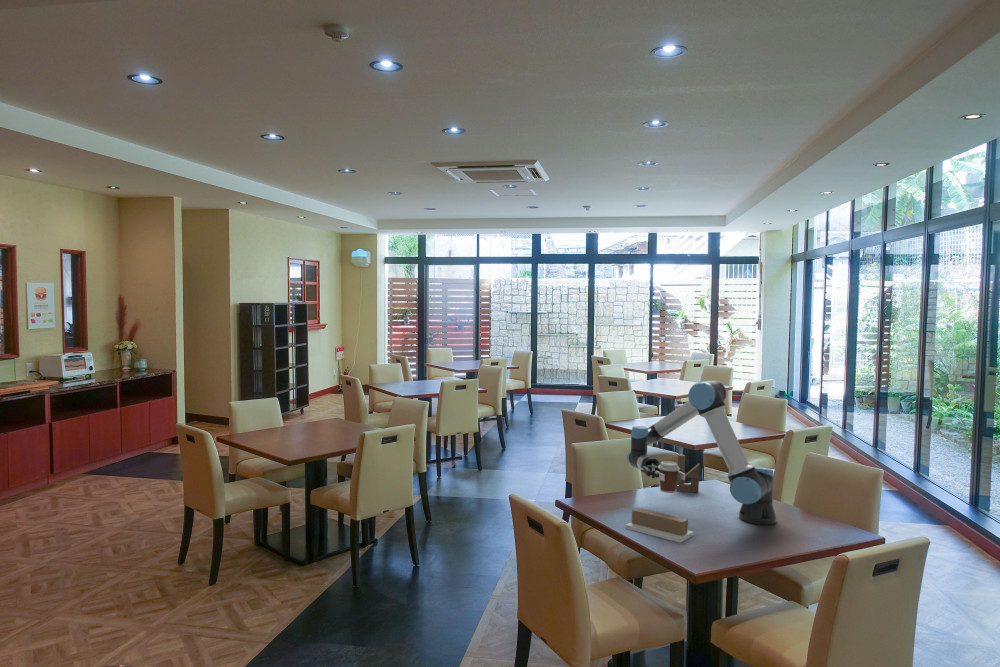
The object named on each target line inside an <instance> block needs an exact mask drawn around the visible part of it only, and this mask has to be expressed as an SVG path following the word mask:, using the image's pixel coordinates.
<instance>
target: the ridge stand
mask: <svg viewBox="0 0 1000 667" xmlns="http://www.w3.org/2000/svg"><path fill="white" fill-rule="evenodd" d="M631 512H632V513H631V522H627V523H626V524H625V526H624V527H625V528H624V529H627V530H630V531H634V532H638V533H643V534H645V535H650V536H652V537H656V538H661V539H665V540H668V541H671V542H677V543H679V544H680V543H682V542H685V541H686V540H688V539H689V538H691V537H693V536H694V531H692V530H689V529H688V527H689V524H688V523H689V519H688V518H683V517H680V516H675V515H672V514H666V513H662V512H659V511H658V512H657V511H654V510H651V509H646V508H641V507H636V508H633V509H632V510H631Z"/></svg>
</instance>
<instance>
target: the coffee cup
mask: <svg viewBox="0 0 1000 667" xmlns="http://www.w3.org/2000/svg"><path fill="white" fill-rule="evenodd" d="M677 463H678V462H676V461H675V462H674V461H670V460H669V461H668V460H667V461H661V462H660V463H659V464H660V465H659V466H658V469H659V471H660V472H661V473H663V474H665V480H664V481H662V480H660V479H659V490H660V492H662V493H667V494H674V493H676V485H677V477H678V471H679V470H680V468H679V467H678V464H677Z"/></svg>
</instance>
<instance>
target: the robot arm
mask: <svg viewBox="0 0 1000 667" xmlns="http://www.w3.org/2000/svg"><path fill="white" fill-rule="evenodd" d="M687 397H688V401H686V402H684V403H683V404H682V405H680V406H678V407H677V408H675V409H674V410H673V411H671V412H670V413H668V414H666V415H665V416H664V417H663V418H660V419H659V420H658V421H657V422H655V423H654V424H652V425H651V426H648V427H647V426H645V425H644V426H643V425H634V426H632V428H631V433H630V437H631V438H630V451H629V452H628V454H627V456H626V460H627V463H628V464H629V465H630V466H631V467H633V468H636V469H638V470H640V472H643V473H644V474H645V475H646V477H651V478H652V479H655V478H656V479H658V480H659V481H660V480H662V481H664V480H665V474H663V473H661V472H660V471H659V469H658V466H659V465H660V464H661V463H660V461H658V459H656V458H654V457H652V456H650V455H648V446H649V445H652V444H656V443H659V442H660V441H661V440H662V439H663V438H664V437H665V436H667V435H669V434H670V433H672V432H673V431H675V430H677V429H678V428H680V427H682V426H683V425H684V424H686V423H688V422H689V421H691V420H692V419H693V418H695V417H698V415H699V417H702V418H704V419H705V421H706V423H707V425H708V427H709V429H710V432H711V434H712V436H713V438H714V441H715V442H716V445H717V447H718V449H719V451H720V454H721V456H722V458H723V460H724V462H725V465H726V467H727V470H728V473H727V478H728V480H729V482H730V484H729V492H730V494H731V495H730V496H731V497H733V499H734V500H735V501H736V502H738V503H740V504H741V507H740V509H739V512H738V518H739V519H740V520H741V521H743V522H746V523H748V524H749V523H750V524H755V525H760V526H761V525H764V526H769V525H774V524H776V523H777V515H776V510H775V508H774V505H773V504H774V503H773V502H774V501H773V500H774V499H773V498H774V482H775V481H774V479H775V473H774V470H773V469H771V468H769V467H763V466H756V465H752V464H750V463H749V462H748V460H747V457H746V455H745V453H744V451H743V448H742V447H741V444H740V441H739V440H738V437H737V436H736V434H735V431H734V429H733V427H732V425H731V422H730V420H729V418H728V416H727V414H726V412H725V409H726V406H727V405H726V402H725V400H726V398H727V389H726V387H725V385H724V383H722V382H720V381H719V380H715V379H710V380H701V381H698V382H696V383H694V384H693V385H692V386H691V387H690V389H689V391H688V396H687ZM685 474H686V473H683V472H682V469H680V470H679V471H678V478H680V479H682V480H684V481H686V478H685Z"/></svg>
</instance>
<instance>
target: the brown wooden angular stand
mask: <svg viewBox="0 0 1000 667" xmlns="http://www.w3.org/2000/svg"><path fill="white" fill-rule="evenodd" d="M676 463H677V464H678V467H679V468H680V469H682V472H683V473H685V468H686V455H685V454H678V455H677V462H676ZM686 478H688V479H690V483H687V482H685V480H682V479H680V478H678V477H677V485H679V486H677V485H676V491H678V492H688V493H695V494H696V493H699V490H700V489H699V487H700V486H699V485H700V463H697V464H695V466H694V467H692V469H690V470H689V471H688V472H686V473H685V479H686Z"/></svg>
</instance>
